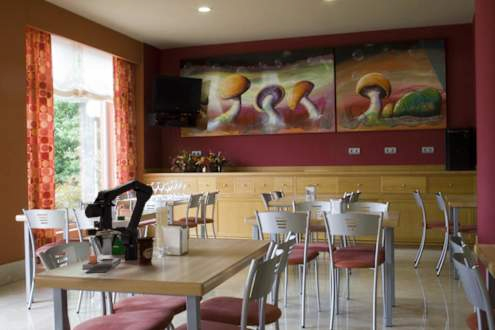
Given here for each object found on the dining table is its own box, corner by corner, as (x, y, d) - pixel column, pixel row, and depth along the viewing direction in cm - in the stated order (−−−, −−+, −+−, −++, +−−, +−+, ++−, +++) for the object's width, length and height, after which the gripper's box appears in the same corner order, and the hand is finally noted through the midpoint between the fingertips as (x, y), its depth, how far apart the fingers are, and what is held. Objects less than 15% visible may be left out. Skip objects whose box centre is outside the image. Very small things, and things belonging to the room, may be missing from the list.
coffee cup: (158, 263, 264) (157, 236, 264) (149, 266, 256) (148, 239, 256) (142, 262, 267) (141, 236, 267) (133, 265, 259) (132, 238, 259)
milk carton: (131, 252, 299) (130, 216, 298) (121, 255, 290) (120, 217, 290) (117, 251, 302) (116, 215, 302) (107, 254, 293) (106, 217, 293)
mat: (110, 268, 253) (110, 267, 253) (105, 272, 244) (105, 271, 244) (91, 269, 253) (91, 268, 253) (85, 273, 244) (85, 272, 244)
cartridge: (113, 254, 265) (113, 237, 265) (103, 255, 262) (103, 238, 262) (110, 253, 269) (109, 236, 269) (100, 254, 266) (99, 237, 266)
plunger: (98, 263, 259) (97, 254, 259) (96, 265, 256) (95, 256, 256) (90, 264, 259) (90, 254, 259) (88, 265, 256) (88, 256, 256)
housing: (120, 262, 270) (120, 258, 270) (112, 268, 254) (112, 264, 254) (92, 262, 270) (92, 258, 270) (82, 269, 254) (82, 264, 254)
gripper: (120, 213, 277) (120, 244, 277) (82, 216, 268) (83, 248, 268) (126, 215, 267) (127, 247, 267) (88, 218, 258) (88, 251, 258)
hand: (106, 248), depth 265 cm, fingers closed on cartridge, 5 cm apart
